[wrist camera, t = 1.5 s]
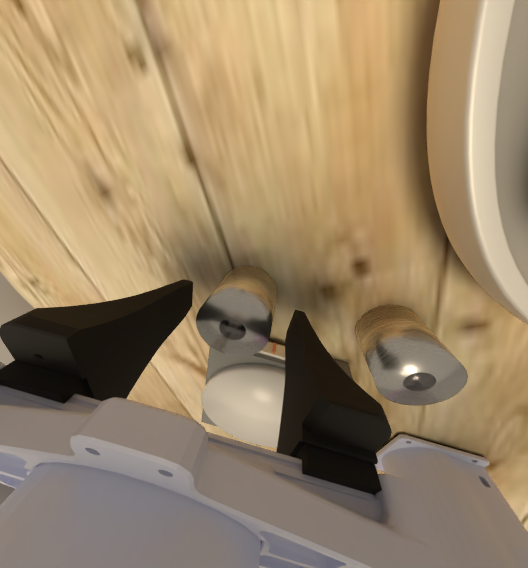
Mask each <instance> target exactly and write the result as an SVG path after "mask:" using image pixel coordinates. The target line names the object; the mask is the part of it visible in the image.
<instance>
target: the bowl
mask: <svg viewBox="0 0 528 568" xmlns="http://www.w3.org/2000/svg"><path fill="white" fill-rule="evenodd" d="M427 150H428V163H429V171H430V178H431V184H432V189H433V194H434V198H435V202H436V206H437V209H438V212H439V215H440V219H441V222H442V224H443V227H444V229H445V232H446V234H447V236H448V239H449V241H450V243H451V244H452V246H453V248H454V250H455V252H456V254H457V255H458V257H459V258H460V260H461V261H462V263H463V264H464V266H465V267H466V269H467V270H468V272H469V273H470V274H471V275H472V277H473V278H474V279H475V280H476V281H477V283H478V284H479V285H480V286H481V287H482V288H483V289H484V290H485V291H486V292H487V293H488V294H489V295H490V296H491V297H492V298H493V299H494V300H495V301H497V302H498V303H499V304H500V305H502V306H503V307H504V308H505V309H506V310H508V311H509V312H510V313H511V314H513V315H514V316H515V317H517V318H518V319H520V320H522V321H523V322H525V323H526V324H528V0H440V4H439V10H438V16H437V21H436V27H435V33H434V39H433V47H432V55H431V63H430V71H429V83H428V97H427Z"/></svg>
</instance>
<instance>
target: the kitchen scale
mask: <svg viewBox="0 0 528 568" xmlns="http://www.w3.org/2000/svg"><path fill="white" fill-rule="evenodd" d="M334 360H335V359H334ZM335 362H336V363H337V364H338V365H339V366H340V367H341V368H342V369H343V371H344V372H345V373H346V374H347V375H348V376H349V377H350V378H351V379H352V375H351V372H350V369H349V365H348V363H346V362H342V361H338V360H335ZM352 380H353V379H352ZM284 386H285V345H281V344H278V343H274V342H271V341H268V343H267V345H266V346H265V348H264V349H263V350H261V351H260V352H258V353H256V354H254V355H251V356H246V357H236V356H230V355H226V354H223V353H221V352H219V351H217V350H215V349H214V348H212V347H211V346H210V350H209V359H208V368H207V377H206V386H205V388H204V391H203V393H202V406H203V413H202V422H204V423H208V424H211V425H214V426H218V427H219V428H221V429H222V430H223V431H225V432H227V433H228V434H230V435H232V436H234V437H236V438H238V439H241V440H243V441H246V442H249V443H253V444H256V445H261V446H267V447H276V448H277V445H278V438H279V430H280V422H281V414H282V405H283V396H284Z"/></svg>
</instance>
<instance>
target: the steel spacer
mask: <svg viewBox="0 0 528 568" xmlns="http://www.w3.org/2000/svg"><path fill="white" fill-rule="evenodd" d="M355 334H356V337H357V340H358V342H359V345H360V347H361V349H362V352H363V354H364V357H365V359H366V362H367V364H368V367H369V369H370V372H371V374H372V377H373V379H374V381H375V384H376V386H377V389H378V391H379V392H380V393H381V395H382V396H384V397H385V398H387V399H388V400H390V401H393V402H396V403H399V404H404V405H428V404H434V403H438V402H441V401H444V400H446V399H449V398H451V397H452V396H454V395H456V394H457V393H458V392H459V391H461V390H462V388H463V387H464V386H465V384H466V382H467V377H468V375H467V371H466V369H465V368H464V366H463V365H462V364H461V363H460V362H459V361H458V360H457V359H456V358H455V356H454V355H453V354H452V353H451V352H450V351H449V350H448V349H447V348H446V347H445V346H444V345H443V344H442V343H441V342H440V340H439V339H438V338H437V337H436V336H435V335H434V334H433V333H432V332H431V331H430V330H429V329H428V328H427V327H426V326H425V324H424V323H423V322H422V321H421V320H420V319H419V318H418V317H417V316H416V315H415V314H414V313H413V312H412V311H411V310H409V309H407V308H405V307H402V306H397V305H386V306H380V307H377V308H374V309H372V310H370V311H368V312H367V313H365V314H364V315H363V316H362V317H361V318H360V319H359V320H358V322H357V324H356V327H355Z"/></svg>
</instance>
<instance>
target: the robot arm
mask: <svg viewBox="0 0 528 568" xmlns="http://www.w3.org/2000/svg"><path fill="white" fill-rule="evenodd" d="M192 292H193V282H192V281H188V280H185V279H184V280H181V281H178V282H175V283H172V284H169V285H166V286H164V287H161V288H158V289H155V290H152V291H149V292H145V293H142V294H139V295H135V296H131V297H127V298H123V299H118V300H113V301H107V302H101V303H95V304H87V305H78V306H68V307H53V308H36V309H34V310H32V311H30V312H28V313H26V314H24V315H22V316H20V317H17V318H15V319H13V320H11V321H9V322H7V323H5V324H3V325H2V326H1V328H0V337H1V339H2V341H3V342H4V344H5V345H6V347H7V348H8V350H9V351H10V353H11V354H12V356H13V357H14V359H15V361H13V362H12V363H10V364H9V365H7V366H6V365H4V364H3V363H1V362H0V483H2V484H4V485H7V486H10V487H12V488H15V490H14V491H13V493H12V494H11V495H10V496H9V497H8V498H7V499H6V500H5V501H4V503H2V504H1V506H0V568H259V566H262V567H266V568H528V532H527V531H526V529H525V528H524V526H523V525H522V523H521V522H520V520H519V519H518V517H517V516H516V514H515V513H514V511H513V510H512V508H511V507H510V505H509V504H508V502H507V501H506V499H505V498H504V496H503V495H502V493H501V492H500V490H499V489H498V487H497V486H496V485H495V483H494V482H493V480H492V479H491V477H490V476H489V474H488V473H487V471H486V470H485V468H484V467H486V466H488V465H489V464H490V463H489V461H488V460H487V459H486V458H484V457H481V456H477V455H474V454H470V453H467V452H463V451H460V450H456V449H453V448H449V447H446V446H442V445H439V444H435V443H432V442H428V441H425V440H421V439H418V438H415V437H411V436H408V435H404V434H400V435H398V436H397V437H395V438H394V439H393V440H392V441H390V442H389V443H388V444H387V445H386V446H384V447H383V448H382V449H381V450H379V451H378V452H377V453H375V451H376V450H377V449H378V448H380V447H381V446H382V445H383V444H385V443H386V442H387V441H388V439H389V438H390V437H391V433H392V431H391V428H390V425H389V423H388V420H387V418H386V415H385V413H384V410H383V408H382V406H381V404H379V403H378V402H377V401H376V400H375V399H373V398H372V397H371V396H370V395H369V394H367V393H366V392H365V391H364V390H363V389H362V388H361V387H360V386H359V385H357V384H356V383H355V382H354V381H353V380H352V379H351V378H350V377H349V376H348V375H347V374H346V373H345V372H344V371H343V369H342V368H341V367H340V366H339V365H338V364H337V363H336V362H335V360H334V359H333V358H332V357H331V355H330V354H329V353H328V352H327V350H326V349H325V347H324V346H323V344H322V343H321V341H320V340H319V338H318V337H317V335H316V333H315V332H314V330H313V328H312V326H311V324H310V322H309V320H308V318H307V316H306V315H305V313H304V312H302V311H298V310H295V312H294V314H293V317H292V320H291V322H290V325H289V328H288V330H287V334H286V342H285V386H284V396H283V405H282V414H281V422H280V430H279V438H278V445H277V452H274V451H270V450H267V449H263V448H260V447H257V446H253V445H250V444H246V443H243V442H239V441H236V440H233V439H229V438H226V437H222V436H219V435H215V434H212V433H209V432H206V430H205V428H204V427H203V426H202V425H200V424H199V423H198V422H197V421H195V420H193V419H191V418H188V417H186V416H183V415H180V414H176V413H173V412H170V411H166V410H163V409H159V408H156V407H152V406H149V405H145V404H142V403H139V402H135V401H132V400H128V399H126V398H127V396H128V395H129V393H130V391H131V390H132V388H133V386H134V385H135V383H136V382H137V380H138V378H139V377H140V375H141V374H142V372H143V371H144V369H145V367H146V366H147V364H148V363H149V361H150V360H151V358H152V357H153V356H154V354H155V353H156V351H157V350H158V348H159V347H160V346H161V345H162V343H163V342H164V341H165V340H166V339H167V337H168V336H169V335H170V334H171V333H172V332H173V330H174V329H175V328H176V327H177V326H178V325H179V323H180V322H181V321H182V320H183V319H184V317H185V316H186V314H187V313H188V311H189V310H190V308H191V307H192ZM376 469H377V470H380V471H384V472H385V474H377V470H376Z"/></svg>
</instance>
